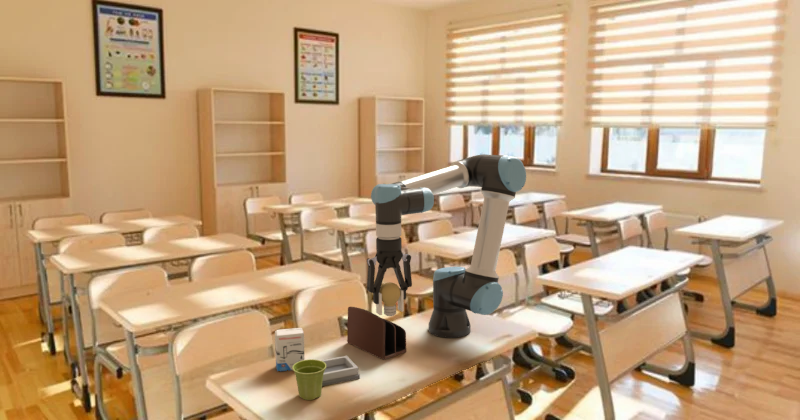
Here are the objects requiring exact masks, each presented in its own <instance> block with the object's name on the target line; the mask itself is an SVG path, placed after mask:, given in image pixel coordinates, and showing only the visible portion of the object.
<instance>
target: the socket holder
mask: <svg viewBox="0 0 800 420" xmlns="http://www.w3.org/2000/svg"><path fill="white" fill-rule="evenodd" d="M320 361H323V362H325V363H326V369H325V372H324V374H323V382H322V387H324V386H329V385H333V384H340V383H344V382H349V381H354V380H358V379H360V378H361V376H360V374H359V367H358V365H356V364H355V362H353V360H352V359H351V358H350V357H349V356H348V355H343V356H337V357H333V358H327V359H322V360H320Z"/></svg>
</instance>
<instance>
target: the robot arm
mask: <svg viewBox="0 0 800 420" xmlns="http://www.w3.org/2000/svg"><path fill="white" fill-rule="evenodd" d="M526 182H527V171H526V168H525V166H524V163H523V161H522V160H521V159H520V158H518V157H516V156H511V155H506V154H503V155H501V154H500V155H499V154H485V153H484V154H477V155H476V154H475V155H473V156H470V157H466V158H463V159H460V160H456V161H454V162H452V163H451V164H450V166H446V167H443V168H440V169H437V170H433V171H429V172H427V173H423V174H419V175H415V176H414V177H410V178H407V179H404V180H400V181H397V182H396V181H395V182H393V183H378V184H376V185H375V186H373V188H372V190H371V192H370V200H371V202H372V203H373V205H375V207H374V208H375V236H376V238H375V247H376V248H375V249H376V253H375V256H374V257H371V258H367V259H366V263H367V281H366V290H367V291H368V292H370V293H371V294H372V296H373V297H372V300H373V301H372V302H373V303H374V304H375V307H376V309H375V310H376V311H375V312H376V314H378V316H382V315H383V301H382V294H381V293H380V288H381V286H382V285H383V280H384V277H385V274H386V272H387V269H388V270H389V269H391V268H392V269H393V271H394V275H395V277H396V280H397V283H398V287H399V288H400V297H399V299H398V301H397V310H398V311H400V312H404V311H405V309H404V308H405V306H404V305H405V303H404V301H405V300H406V299H407V291H408V289H409V288H411V287H413V282H412V280H413V279H412V271H411V269H412V268H411V260H412V256H411V255H410V254H408V253H403V252H402V245H403V244H402V243H403V242H402V237H401V236H402V216H405V215H412V214H423V213H426V212H429V211H430V210H432V209H433V207H434V203H435V197H434V195H436V194H440V193H442V192H445V191H449V190H451V189H454V188H458V189H464V188H469V187H475V188H476V187H478V188H481V189H480V193H481V194H482V195H483V203H482V206H481V212H480V216H479V217H480V218H479V223H478V228H477V232H476V237H475V243H474V247H473V252H472V255H471V256H472V257H471V263H470V266H468V267H467V268H466V267H463V266H448V267H447V266H446V267H441V268H438V269H436V270H435V271H434V272H433V279H432V293H433V295H432V298H433V303H432V305H433V307H432V309H433V310H432V313H431V315H430V319H429V322H428V332H429V333H430V334H432V335H433V336H436V337H440V338H449V339H451V338H452V339H453V338H461V337H465V336H467V335H469V334H470V333H471V329H472V328H471V323H470V319H469V316H468V313H467V311H469V312H472V313H473V314H476V315H477V314H478V315H483V316H487V315H490V314H493V313H494V312H495V311H496V310H497V309H498V308H499V306H500V305H501V303H502V300H503V296H504V291H503V287H502V285H501V284H500V283H499V279H500V276H499V275H498V273H497V271H496V270H497V266H498V261H499V255H500V251H501V245H502V241H503V235H504V230H505V225H506V221H507V216H508V211H509V206H510V203H511V201H513V200H514V199H515V198H516V193H518V192H519V191H521V190H522V189H523V188H524V187H525V184H526ZM401 260H402V264H403V266H402V267H403V272H402V270H401V266H400V262H401ZM376 263H378V267H377V274H376V271H375V270H376ZM375 274H376V276H375Z"/></svg>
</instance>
